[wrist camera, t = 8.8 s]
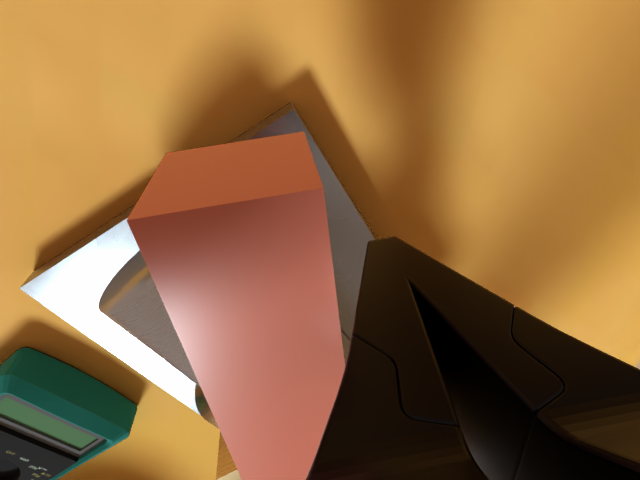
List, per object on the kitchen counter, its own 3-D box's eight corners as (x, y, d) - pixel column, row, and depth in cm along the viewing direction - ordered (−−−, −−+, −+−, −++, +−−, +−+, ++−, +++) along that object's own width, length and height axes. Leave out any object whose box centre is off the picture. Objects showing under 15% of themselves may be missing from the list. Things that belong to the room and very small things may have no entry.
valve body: (474, 397, 28) (547, 533, 21) (307, 474, 30) (322, 618, 23) (291, 101, 15) (319, 189, 8) (32, 271, 18) (-113, 450, 11)
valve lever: (355, 502, 17) (371, 585, 14) (290, 515, 16) (296, 602, 14) (304, 131, 8) (324, 187, 6) (166, 152, 8) (127, 219, 5)
